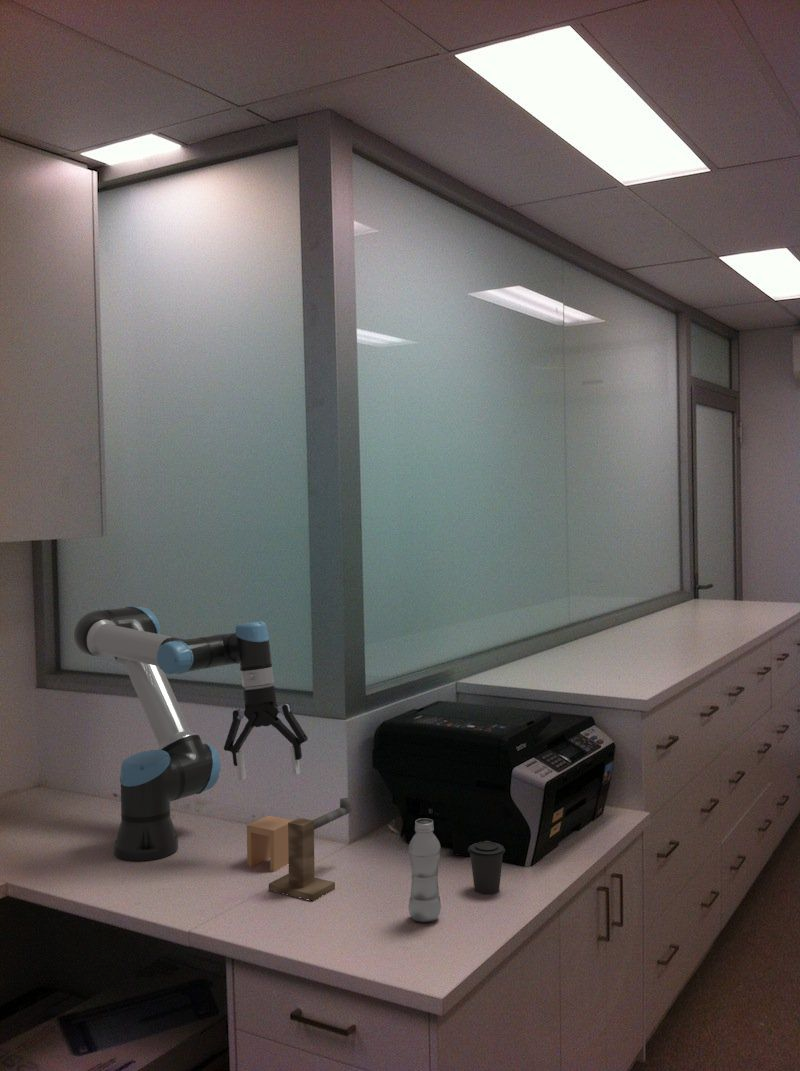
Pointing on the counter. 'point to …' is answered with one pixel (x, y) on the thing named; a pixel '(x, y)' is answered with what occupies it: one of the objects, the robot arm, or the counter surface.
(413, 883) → the plastic bottle
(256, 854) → the tan square cardboard-colored block
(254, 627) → the robot arm
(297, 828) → the hook stand
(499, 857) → the coffee cup
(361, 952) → the counter surface
